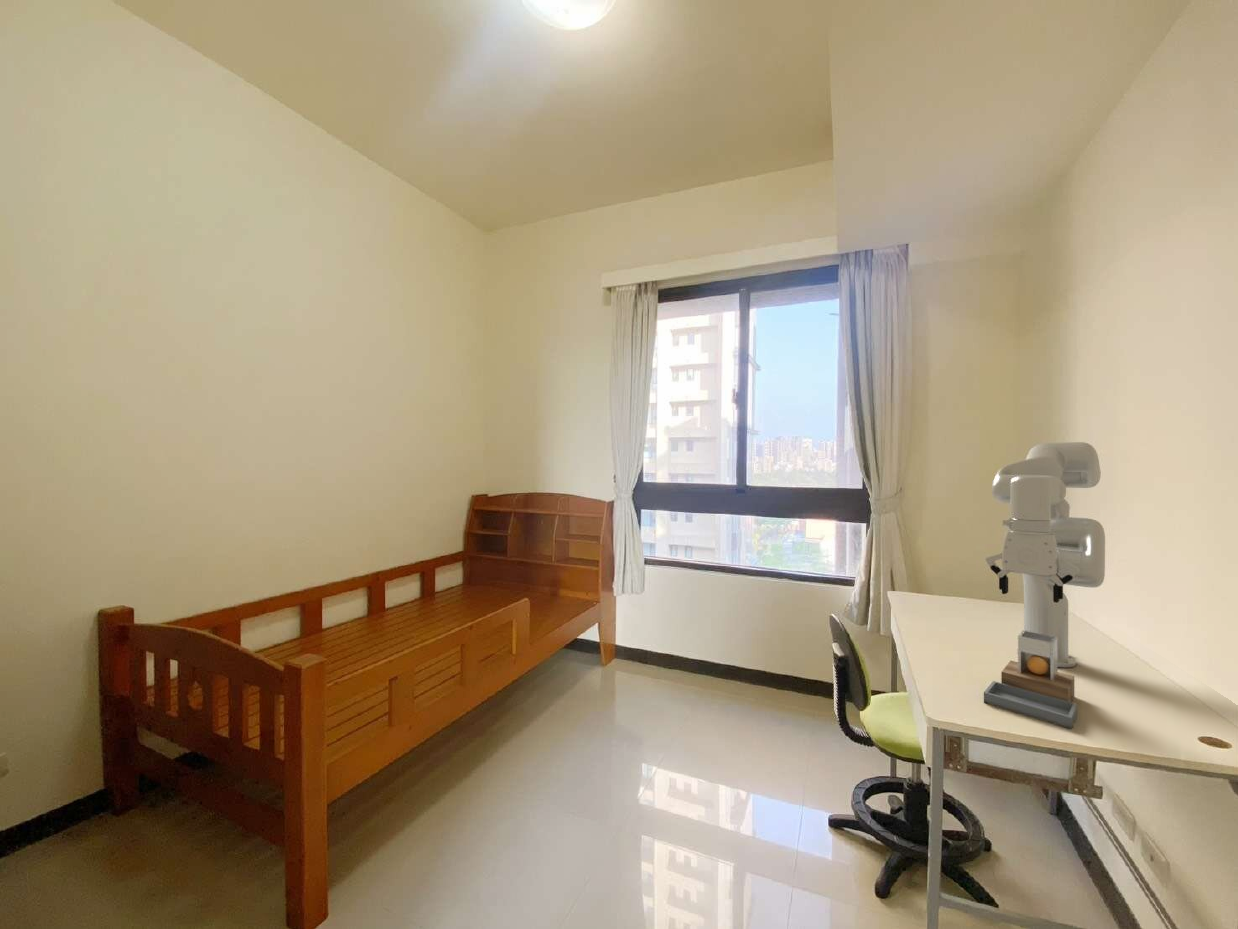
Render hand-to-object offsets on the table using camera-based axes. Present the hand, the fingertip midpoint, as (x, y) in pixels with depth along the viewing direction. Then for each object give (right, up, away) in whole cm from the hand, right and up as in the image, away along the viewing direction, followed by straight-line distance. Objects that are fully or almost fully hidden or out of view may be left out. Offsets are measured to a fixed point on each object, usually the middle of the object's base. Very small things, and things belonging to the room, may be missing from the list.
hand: (1029, 597), depth 117 cm
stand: (+1, -23, -1) cm, 23 cm away
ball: (+1, -16, -1) cm, 16 cm away
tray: (-6, -23, -7) cm, 25 cm away
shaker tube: (+1, -18, -1) cm, 18 cm away
